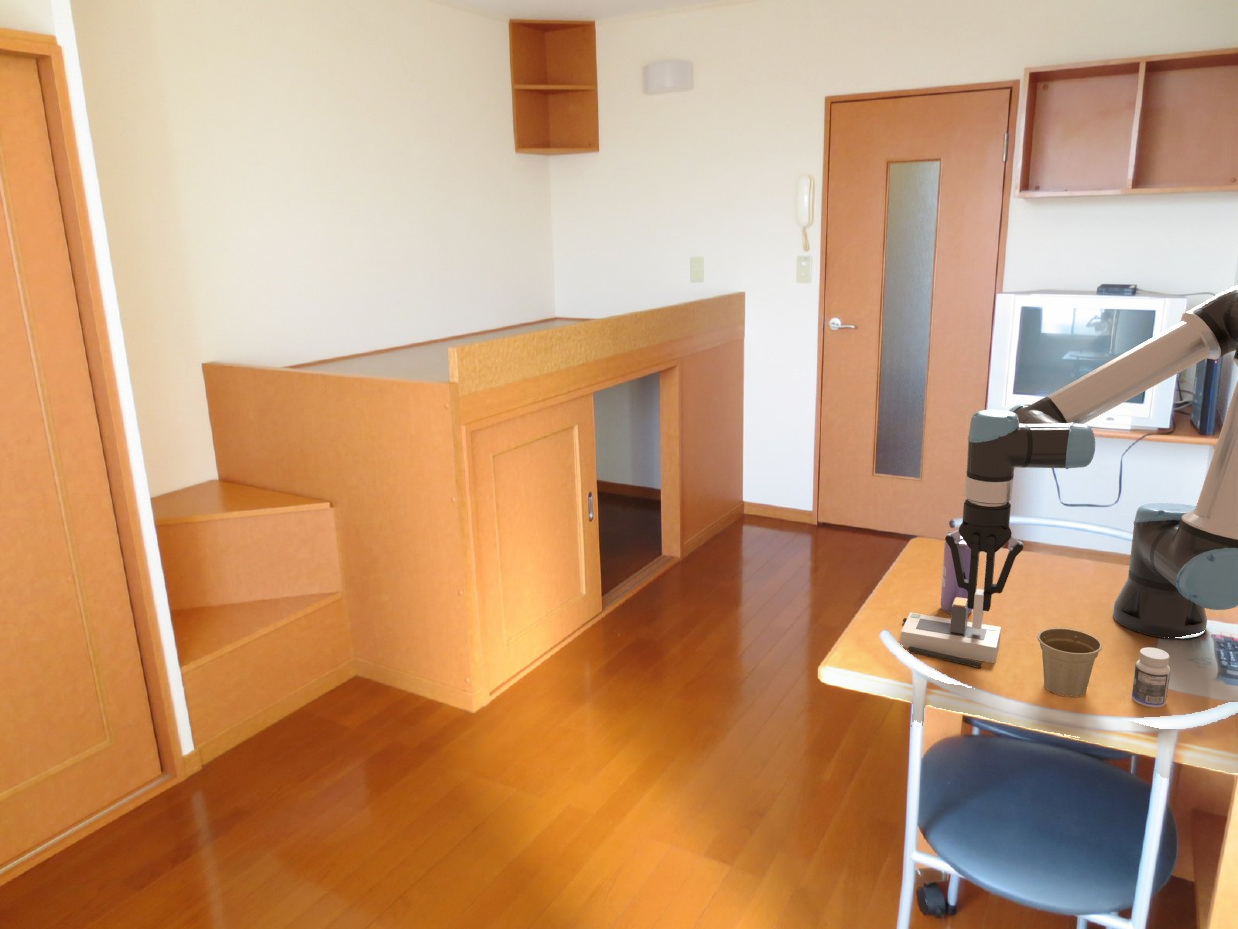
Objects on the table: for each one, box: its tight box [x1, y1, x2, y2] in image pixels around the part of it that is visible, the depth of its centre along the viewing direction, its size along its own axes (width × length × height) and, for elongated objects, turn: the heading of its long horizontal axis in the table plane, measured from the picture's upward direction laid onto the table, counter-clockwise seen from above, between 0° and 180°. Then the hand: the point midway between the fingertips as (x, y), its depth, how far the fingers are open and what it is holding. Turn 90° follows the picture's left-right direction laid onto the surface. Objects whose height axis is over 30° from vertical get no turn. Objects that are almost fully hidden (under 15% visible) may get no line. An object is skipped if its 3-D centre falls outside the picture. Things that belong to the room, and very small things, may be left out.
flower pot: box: [1036, 627, 1103, 698], centre depth 144 cm, size 9×9×9 cm
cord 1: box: [907, 646, 983, 669], centre depth 156 cm, size 12×1×1 cm, turn 56°
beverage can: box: [940, 536, 973, 615], centre depth 174 cm, size 6×6×15 cm
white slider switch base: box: [900, 611, 1002, 664], centre depth 161 cm, size 16×9×3 cm, turn 62°
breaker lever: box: [950, 597, 969, 634], centre depth 160 cm, size 2×4×5 cm, turn 152°
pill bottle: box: [1131, 646, 1171, 709], centre depth 140 cm, size 5×5×8 cm
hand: (977, 625), depth 159 cm, fingers closed
